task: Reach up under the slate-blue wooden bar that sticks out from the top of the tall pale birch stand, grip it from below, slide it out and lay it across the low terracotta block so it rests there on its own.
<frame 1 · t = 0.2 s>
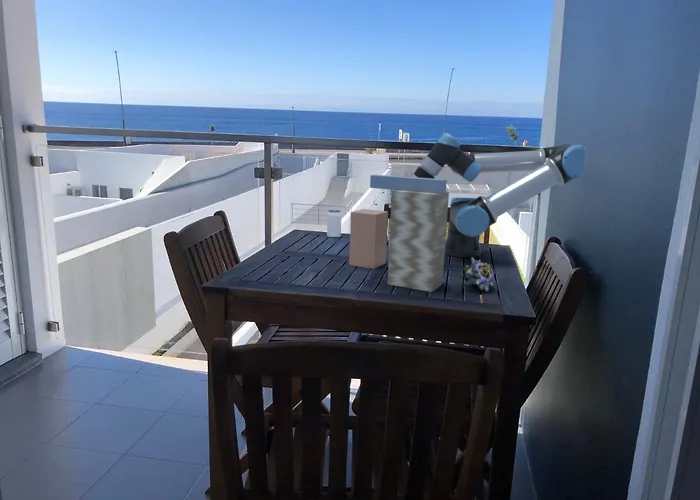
hand: (393, 216, 201), 16 cm above the table, tool tilted 35°, fingers open, 13 cm apart
bar: (407, 190, 165), point 30 cm above the table, touching stand
stand: (415, 284, 169), on the table
block: (367, 264, 194), on the table
can: (333, 237, 243), on the table
passion flower: (475, 288, 167), on the table
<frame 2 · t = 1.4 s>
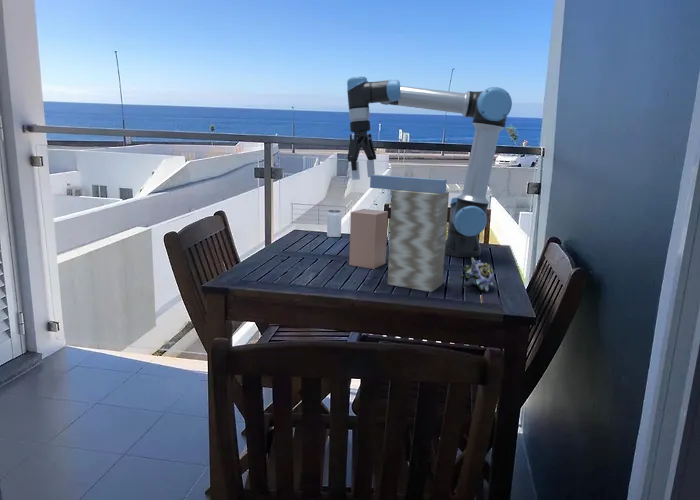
hand: (363, 178, 199), 30 cm above the table, tool pointing down, fingers open, 13 cm apart
nothing on the table moved.
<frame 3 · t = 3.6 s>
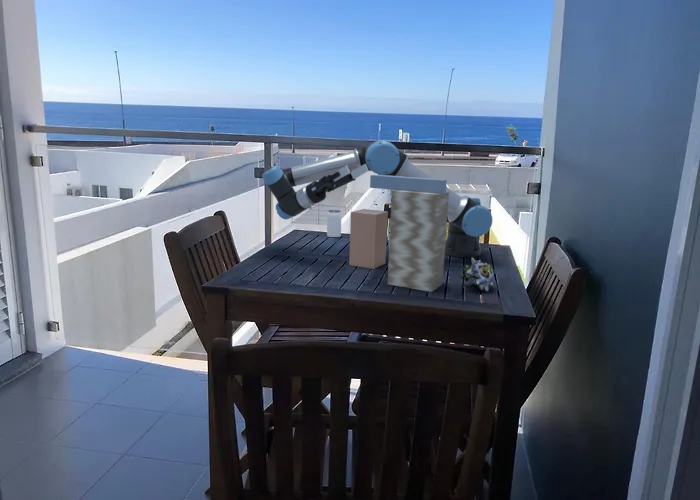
hand: (357, 168, 180), 35 cm above the table, tool pointing upward, fingers open, 13 cm apart
nothing on the table moved.
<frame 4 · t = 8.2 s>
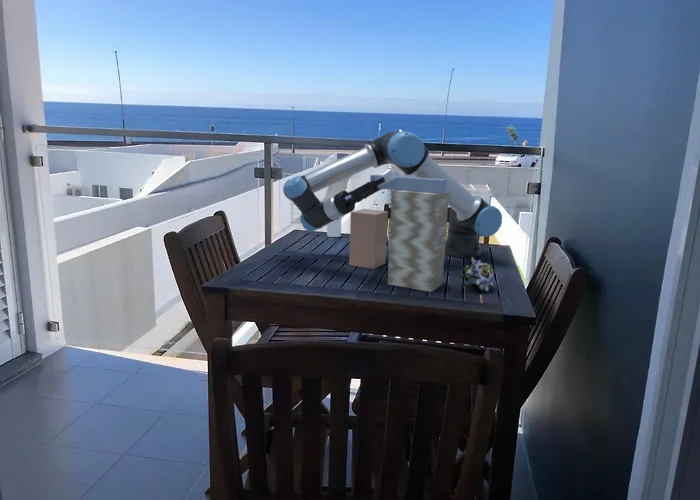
hand: (396, 174, 166), 35 cm above the table, tool pointing upward, fingers closed on bar, 4 cm apart
bar: (407, 190, 165), point 30 cm above the table, touching gripper, stand
everything else where it was.
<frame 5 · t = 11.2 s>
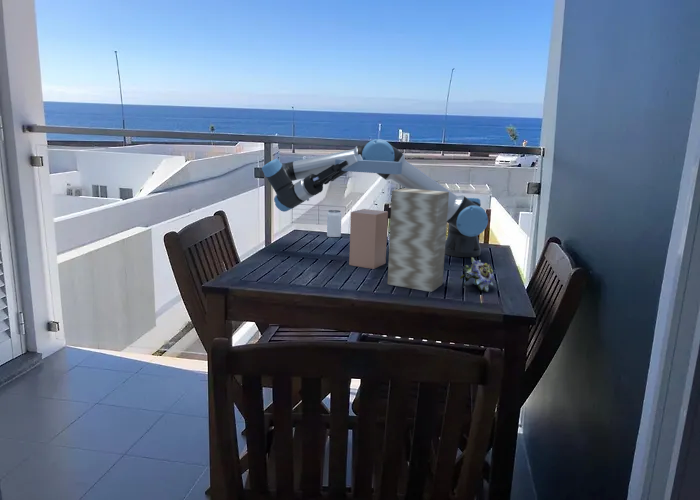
hand: (358, 157, 185), 39 cm above the table, tool pointing upward, fingers closed on bar, 4 cm apart
bar: (367, 172, 185), point 34 cm above the table, touching gripper
everything else where it was.
when the fingers open (25 cm above the table, at t = 14.2 s): bar drops 1 cm, resting on block.
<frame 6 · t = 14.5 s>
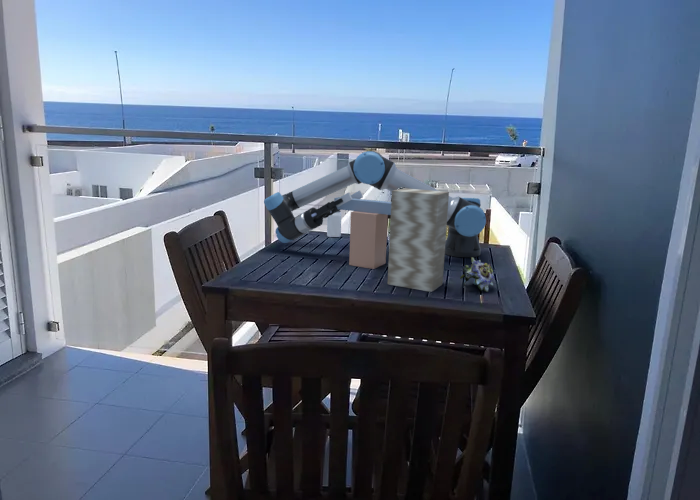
hand: (355, 194, 191), 25 cm above the table, tool pointing upward, fingers open, 8 cm apart
bar: (365, 211, 190), point 19 cm above the table, touching block
everything else where it was.
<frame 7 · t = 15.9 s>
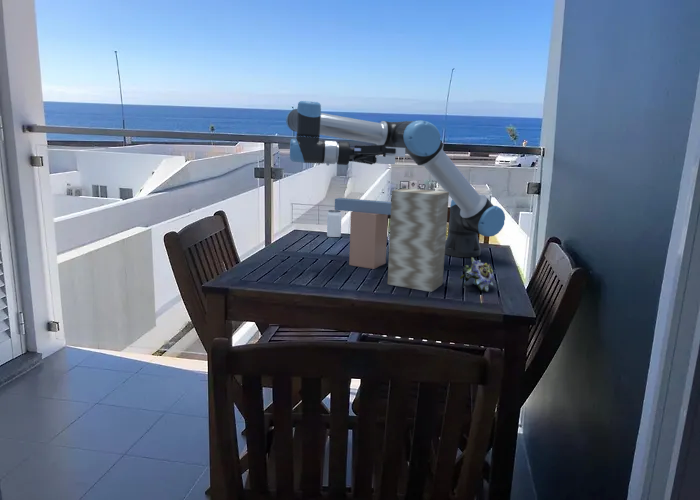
hand: (399, 156, 176), 40 cm above the table, tool horizontal, fingers open, 13 cm apart
bar: (367, 211, 189), point 19 cm above the table, touching block
everything else where it was.
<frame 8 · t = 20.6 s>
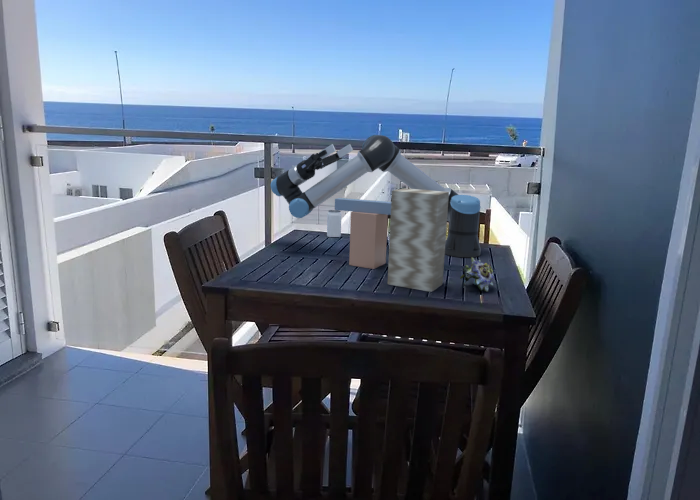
hand: (342, 147, 200), 42 cm above the table, tool pointing upward, fingers open, 13 cm apart
nothing on the table moved.
at the end: bar inside the target area on the block (1.0 cm from its centre), point 19.5 cm above the block's base; bar touching block; the gripper is holding nothing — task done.
